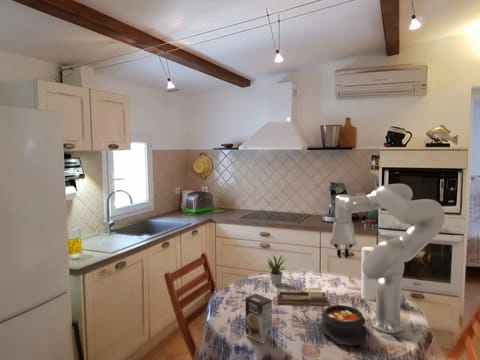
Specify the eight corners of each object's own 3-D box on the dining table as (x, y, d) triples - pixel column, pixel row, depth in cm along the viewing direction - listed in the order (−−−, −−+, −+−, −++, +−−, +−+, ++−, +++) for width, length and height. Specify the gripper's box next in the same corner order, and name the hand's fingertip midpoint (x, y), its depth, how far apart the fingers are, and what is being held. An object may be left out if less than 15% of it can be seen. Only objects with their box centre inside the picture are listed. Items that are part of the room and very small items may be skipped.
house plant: (290, 278, 202) (290, 251, 201) (291, 288, 189) (291, 258, 187) (266, 278, 204) (265, 250, 202) (265, 287, 190) (265, 258, 188)
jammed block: (322, 300, 170) (322, 291, 170) (310, 300, 171) (310, 291, 170) (320, 295, 176) (320, 287, 176) (308, 295, 177) (308, 286, 176)
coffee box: (245, 335, 141) (244, 297, 140) (255, 329, 146) (255, 292, 144) (261, 344, 135) (261, 304, 133) (272, 338, 139) (272, 299, 138)
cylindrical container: (378, 300, 173) (379, 250, 170) (363, 300, 173) (364, 250, 170) (373, 294, 180) (374, 246, 177) (359, 294, 180) (359, 246, 178)
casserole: (378, 349, 131) (378, 328, 130) (329, 351, 130) (329, 329, 129) (354, 317, 156) (354, 299, 155) (313, 318, 155) (313, 300, 154)
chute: (327, 305, 167) (327, 297, 167) (277, 304, 169) (277, 296, 169) (323, 295, 179) (324, 287, 179) (277, 294, 181) (277, 286, 181)
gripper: (327, 221, 166) (327, 259, 168) (362, 221, 164) (361, 259, 166) (325, 218, 173) (324, 254, 175) (358, 218, 172) (357, 255, 174)
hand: (342, 256), depth 170 cm, fingers open, 2 cm apart
